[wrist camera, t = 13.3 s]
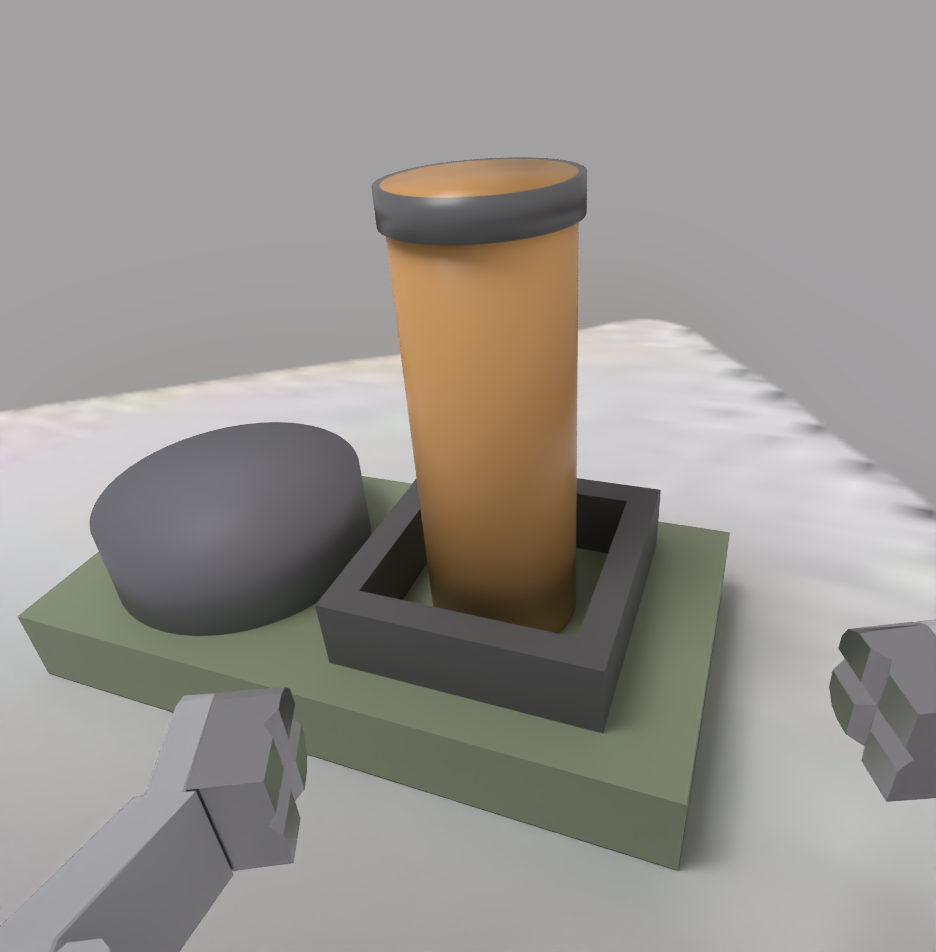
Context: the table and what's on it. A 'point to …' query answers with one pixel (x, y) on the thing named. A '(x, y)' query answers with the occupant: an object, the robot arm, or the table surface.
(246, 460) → the green slab
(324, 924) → the table surface
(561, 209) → the orange pill bottle
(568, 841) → the table surface
